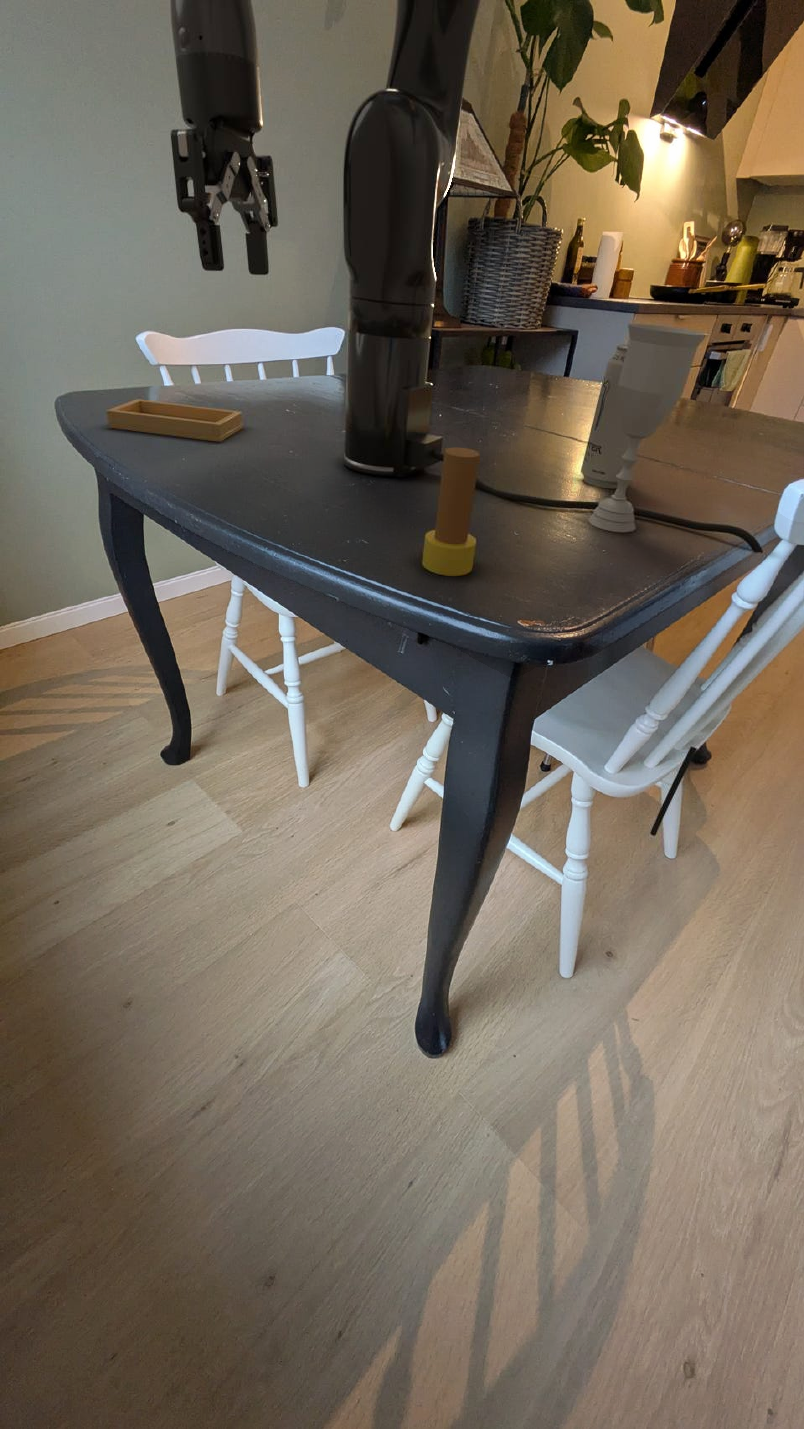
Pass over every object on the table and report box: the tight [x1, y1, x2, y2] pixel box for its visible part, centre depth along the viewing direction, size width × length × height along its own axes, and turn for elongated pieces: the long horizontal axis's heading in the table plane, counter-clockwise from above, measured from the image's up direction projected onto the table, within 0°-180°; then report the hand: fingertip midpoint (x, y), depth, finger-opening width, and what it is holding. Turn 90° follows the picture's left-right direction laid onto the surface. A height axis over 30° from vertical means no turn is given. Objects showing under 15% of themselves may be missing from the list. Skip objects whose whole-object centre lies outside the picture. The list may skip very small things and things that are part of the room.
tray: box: [106, 398, 243, 443], centre depth 84 cm, size 15×8×2 cm, turn 81°
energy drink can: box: [580, 344, 630, 489], centre depth 76 cm, size 6×6×15 cm
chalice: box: [587, 323, 708, 533], centre depth 62 cm, size 7×7×18 cm
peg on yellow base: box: [421, 447, 481, 577], centre depth 52 cm, size 4×4×10 cm
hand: (237, 273), depth 67 cm, fingers open, 8 cm apart
